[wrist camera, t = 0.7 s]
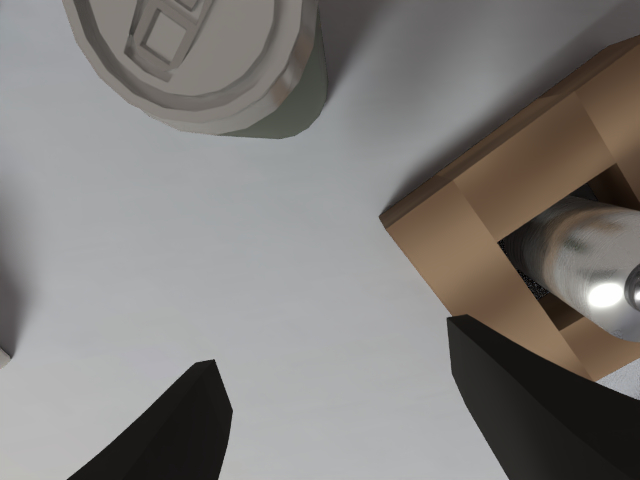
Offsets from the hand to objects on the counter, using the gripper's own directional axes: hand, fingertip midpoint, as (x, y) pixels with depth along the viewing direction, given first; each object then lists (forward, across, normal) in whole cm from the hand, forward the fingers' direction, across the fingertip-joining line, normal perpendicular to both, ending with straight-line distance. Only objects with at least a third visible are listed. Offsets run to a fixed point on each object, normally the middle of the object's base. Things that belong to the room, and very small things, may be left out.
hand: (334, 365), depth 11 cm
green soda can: (+12, +1, -9) cm, 15 cm away
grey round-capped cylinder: (+10, -13, +2) cm, 16 cm away
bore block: (+10, -13, +2) cm, 16 cm away
